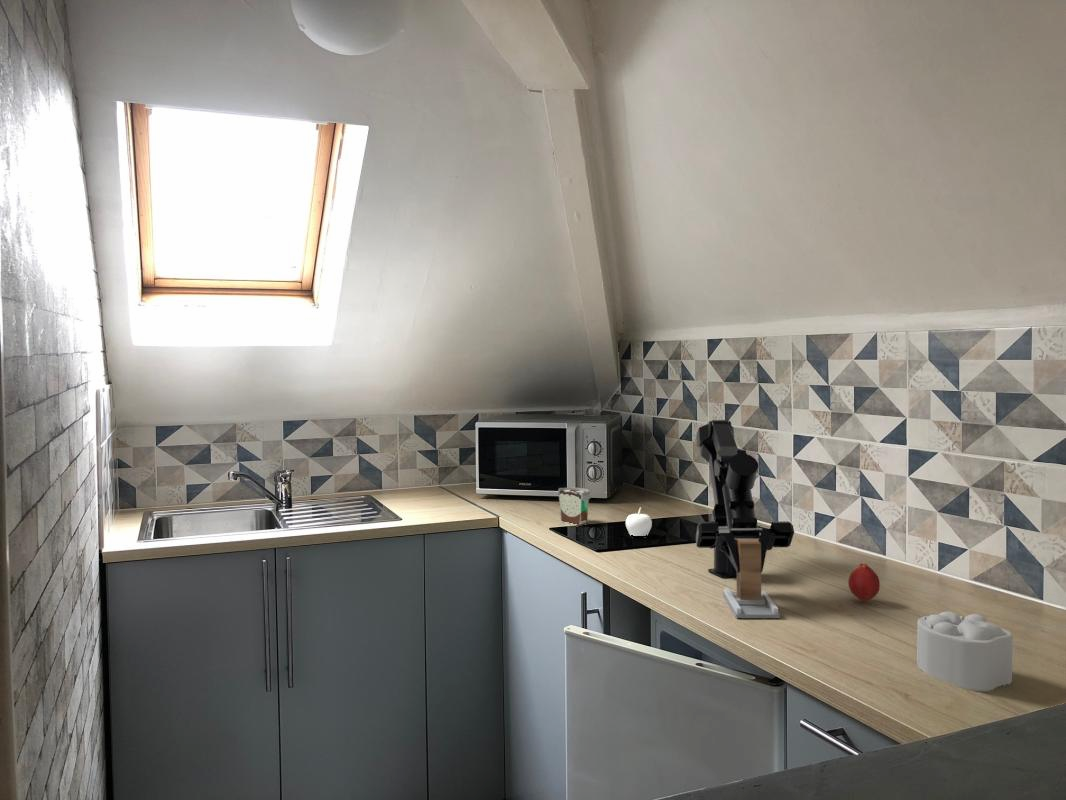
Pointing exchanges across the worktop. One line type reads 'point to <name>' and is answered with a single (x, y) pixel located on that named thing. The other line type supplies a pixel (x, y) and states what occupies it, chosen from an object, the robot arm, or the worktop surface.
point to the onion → (864, 583)
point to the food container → (574, 505)
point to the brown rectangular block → (749, 573)
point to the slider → (751, 607)
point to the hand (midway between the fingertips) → (750, 571)
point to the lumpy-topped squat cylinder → (964, 651)
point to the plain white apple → (638, 524)
